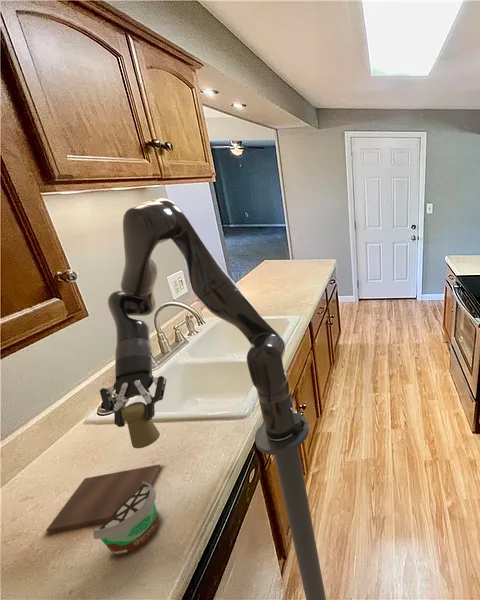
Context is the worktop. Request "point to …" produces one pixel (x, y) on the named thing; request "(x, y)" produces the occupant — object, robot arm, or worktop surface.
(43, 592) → the worktop surface
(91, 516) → the cutting board
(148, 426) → the cork
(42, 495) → the worktop surface
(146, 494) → the food container
